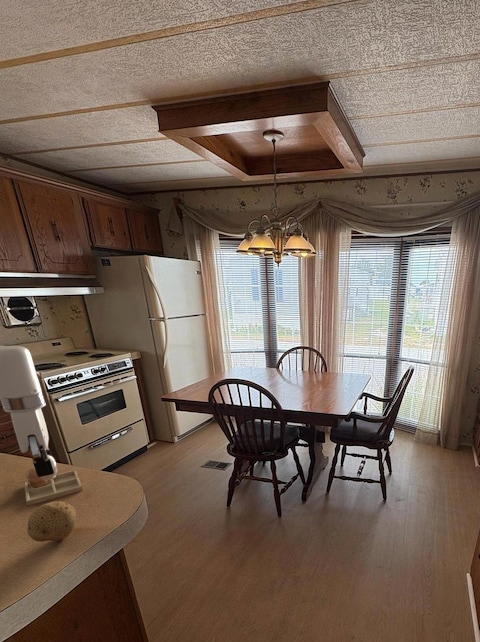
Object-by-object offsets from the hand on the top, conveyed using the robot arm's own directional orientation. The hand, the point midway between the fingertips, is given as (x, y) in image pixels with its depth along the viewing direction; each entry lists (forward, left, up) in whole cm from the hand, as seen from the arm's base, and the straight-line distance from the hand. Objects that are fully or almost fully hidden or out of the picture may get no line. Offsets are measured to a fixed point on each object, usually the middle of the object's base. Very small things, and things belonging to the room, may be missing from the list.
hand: (46, 470), depth 86 cm
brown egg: (-11, +15, -13) cm, 22 cm away
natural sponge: (+4, -12, -13) cm, 18 cm away
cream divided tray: (-7, +13, -13) cm, 20 cm away
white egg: (0, 0, -2) cm, 2 cm away
